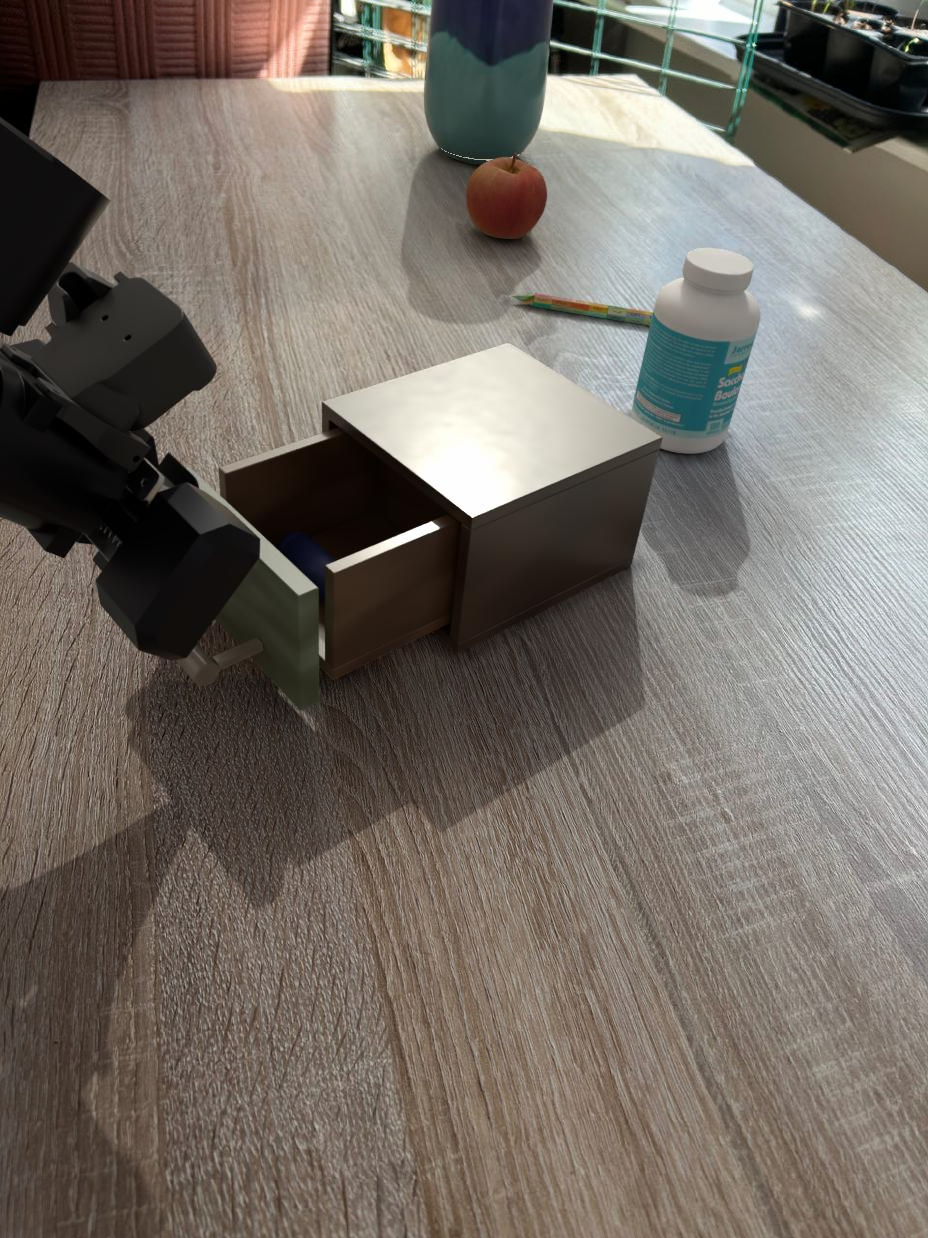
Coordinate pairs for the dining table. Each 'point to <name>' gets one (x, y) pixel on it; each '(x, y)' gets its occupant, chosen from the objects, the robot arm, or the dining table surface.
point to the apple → (506, 197)
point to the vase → (486, 75)
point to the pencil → (586, 308)
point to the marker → (307, 558)
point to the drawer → (331, 564)
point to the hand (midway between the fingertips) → (225, 546)
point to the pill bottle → (697, 351)
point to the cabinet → (511, 478)
